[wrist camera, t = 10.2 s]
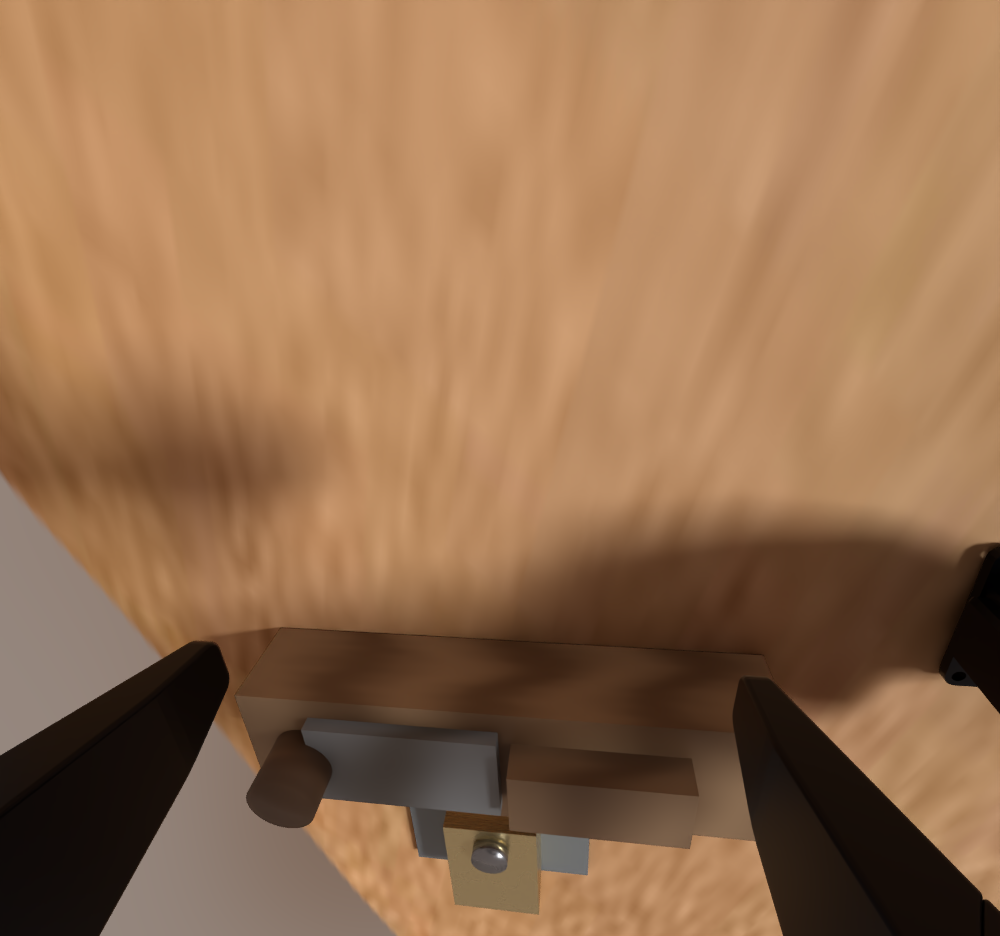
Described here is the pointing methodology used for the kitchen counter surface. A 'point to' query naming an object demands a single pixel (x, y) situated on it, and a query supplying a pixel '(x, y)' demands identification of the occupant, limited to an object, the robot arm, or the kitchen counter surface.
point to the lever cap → (492, 863)
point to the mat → (554, 849)
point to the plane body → (501, 733)
